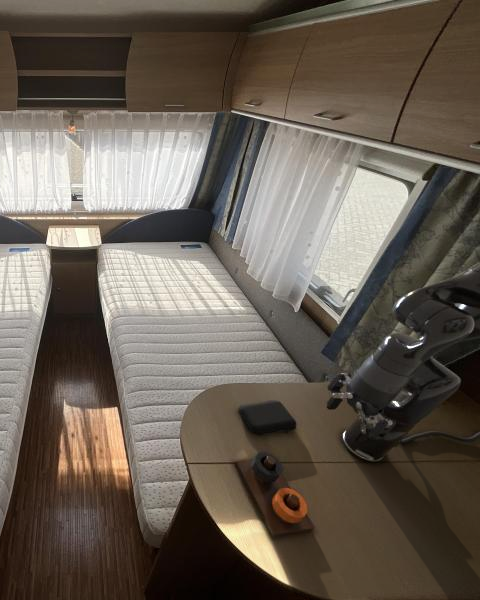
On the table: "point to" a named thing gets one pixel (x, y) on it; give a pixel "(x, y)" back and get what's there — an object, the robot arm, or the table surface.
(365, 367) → the robot arm
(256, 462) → the black tape
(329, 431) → the table surface
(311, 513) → the table surface
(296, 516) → the orange tape
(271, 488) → the tape rack
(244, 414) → the carrying case
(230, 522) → the table surface
